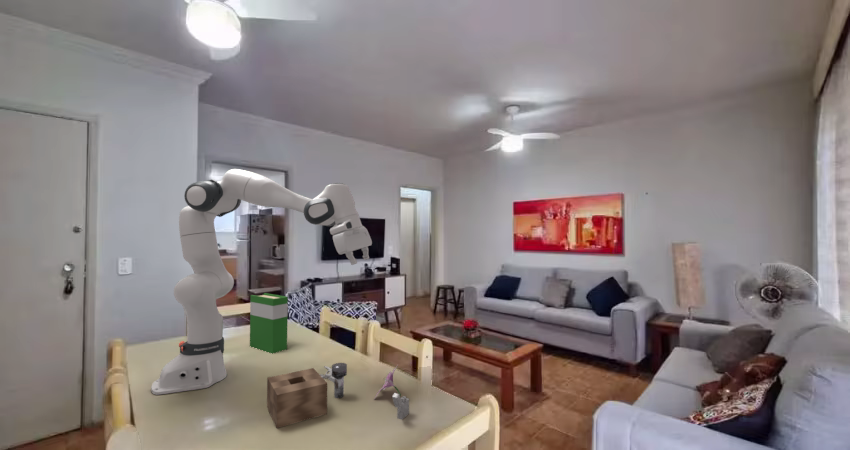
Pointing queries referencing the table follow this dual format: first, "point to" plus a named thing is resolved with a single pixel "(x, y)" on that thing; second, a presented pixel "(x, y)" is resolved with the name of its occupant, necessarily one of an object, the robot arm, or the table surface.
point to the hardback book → (268, 322)
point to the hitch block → (296, 397)
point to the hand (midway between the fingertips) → (360, 261)
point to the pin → (339, 378)
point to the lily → (389, 381)
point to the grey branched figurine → (328, 374)
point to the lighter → (401, 405)
